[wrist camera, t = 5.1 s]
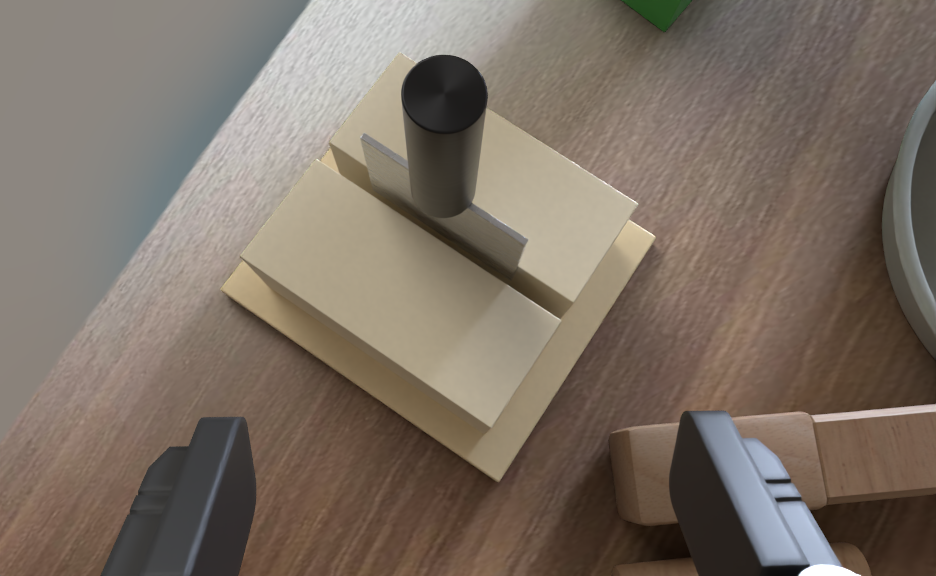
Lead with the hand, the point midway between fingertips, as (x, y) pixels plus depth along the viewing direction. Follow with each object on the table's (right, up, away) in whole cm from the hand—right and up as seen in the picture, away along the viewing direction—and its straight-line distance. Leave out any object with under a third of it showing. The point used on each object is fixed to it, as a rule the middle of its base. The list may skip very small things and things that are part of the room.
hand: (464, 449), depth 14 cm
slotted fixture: (-1, +4, +29) cm, 29 cm away
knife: (-1, +6, +22) cm, 23 cm away
